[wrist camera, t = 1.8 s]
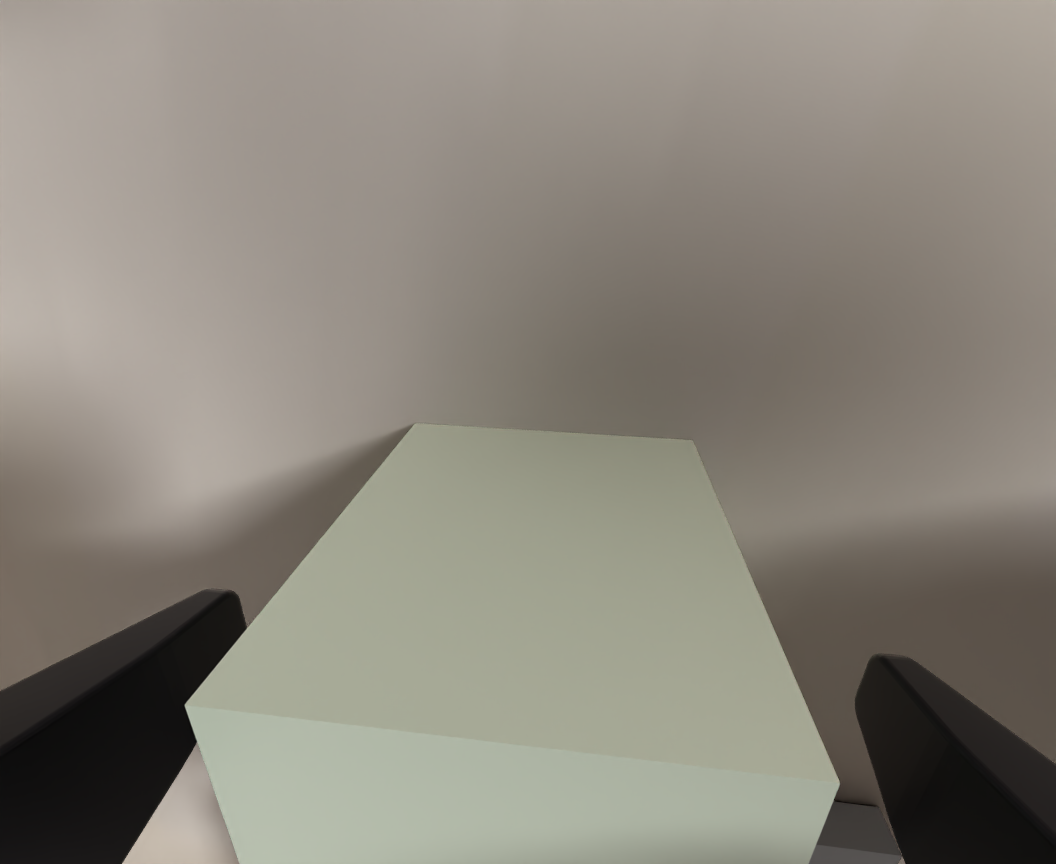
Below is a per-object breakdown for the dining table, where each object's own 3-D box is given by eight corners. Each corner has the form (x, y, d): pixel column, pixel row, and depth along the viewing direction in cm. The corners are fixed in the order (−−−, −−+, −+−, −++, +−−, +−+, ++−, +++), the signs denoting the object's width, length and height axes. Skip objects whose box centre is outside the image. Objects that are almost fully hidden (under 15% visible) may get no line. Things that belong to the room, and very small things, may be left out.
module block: (692, 439, 9) (841, 783, 4) (664, 615, 11) (739, 1039, 5) (415, 422, 10) (184, 705, 4) (428, 593, 11) (273, 960, 6)
